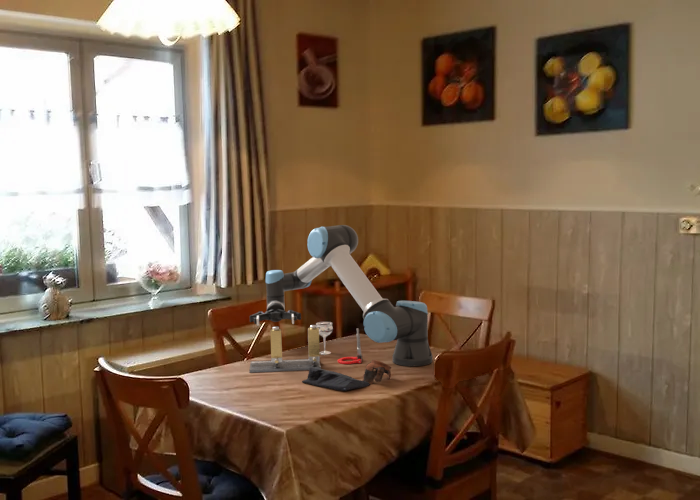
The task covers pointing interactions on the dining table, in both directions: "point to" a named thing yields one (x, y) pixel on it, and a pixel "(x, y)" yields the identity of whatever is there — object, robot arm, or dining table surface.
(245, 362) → the dining table surface
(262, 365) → the bolt plate
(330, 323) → the wineglass
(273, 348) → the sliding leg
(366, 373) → the brown crumpled piece
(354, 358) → the tow hook
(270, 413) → the dining table surface
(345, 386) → the dark folded cloth
